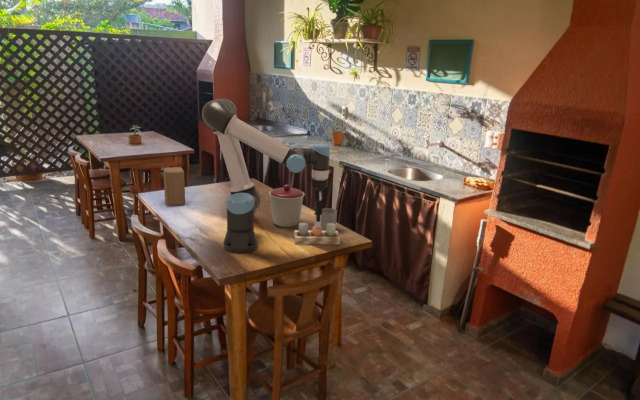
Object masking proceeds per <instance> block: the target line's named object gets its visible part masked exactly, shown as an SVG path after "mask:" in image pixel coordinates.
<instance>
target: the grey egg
mask: <svg viewBox="0 0 640 400" xmlns="http://www.w3.org/2000/svg"><path fill="white" fill-rule="evenodd" d="M298 230H299V235H301V236H306V235H308V230H309V223H308V222H298Z"/></svg>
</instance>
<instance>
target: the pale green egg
mask: <svg viewBox="0 0 640 400" xmlns="http://www.w3.org/2000/svg"><path fill="white" fill-rule="evenodd" d="M335 229H337V223H336V224H334V223H327V224H326V235H327V236H335Z"/></svg>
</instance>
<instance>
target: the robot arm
mask: <svg viewBox="0 0 640 400" xmlns="http://www.w3.org/2000/svg"><path fill="white" fill-rule="evenodd" d="M237 111H238V109H237V107H236V106H235V104H234V103H233V102H232V101H231V100H229V99H227V98H222V97H221V98H216V99H213V100H210V101H207V102H206V103H205V104H204V105H203V107H202V111H201V118H202V120H203V122H204V123H205V125H207V127H209V128H211V131H212V133H213V134H214V135H216V136H217V139H218V143H219V146H220V149H221V152H222V156H223V159H224V163H225V166H226V171H227V174H228V176H229V177H228V178H229V180H230V184H231V188H229V192H230V195H229V196H228V198H227V199H226V232H225V236H224V237H223V238H224V239H223V243H222V247H223V249H224V250H225V251H226V252H229V253H233V254H244V253H245V254H246V253H250V252H254V251H255V250H257V248H258V243H259V242H258V239H257V236H256V233H255V229H254V228H255V215H256V213H257V210H258V209H259V207H260V205H261V195H260V193H259V192H258V190H257V189H256V185H255V183H254V182H253V181H251V180H250V176H249V175H250V174H249V172H248V169H247V165H246V162H245V158H244V154H243V150H242V147H241V146H242V145H241V144H240V142H242V143H243V144H245V145H247V146H249V147H251V148H253V149H254V150H256V151H258V152H260V153H261V154H263V155H265V156H267V157H268V158H271V159H272V160H274V161H276V162H278V163H280V164H282V165H283V166H285V167H287V169H288V170H289V172H292V173H293V174H296V173H300V172H302V171H303V170H304V169H305V167H306V166H312V167H311V183H310V184H311V188H315V189H314V213H313V215H314V226H315V228H321V215H322V209H323V206H324V205H323V203H324V195H325V191H324V190H323V189H326V188H328V187H329V179H328V178H329V174H330V170H329V169H330V168H329V167H330V150H331V148H330V146H329V145H328V144H326V143H325V144H324V143H316V144H313V147H312V148H307V147H304V148H303V147H295V146H294V147H289V146H287V145H285V144H283V143H282V142H280V141H279V140H276V139H275V138H274V137H271V136H270V135H267V134H266V133H264V132H262V131H261V130H259V129H257V128H255V127H253V126H252V125H250V124H248V123H246V122H245V121H243V120H241V119H239V118H238V117H237V115H238V114H237V113H238V112H237Z"/></svg>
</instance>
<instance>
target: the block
mask: <svg viewBox="0 0 640 400" xmlns="http://www.w3.org/2000/svg"><path fill="white" fill-rule="evenodd" d="M185 181H186V180H185V171H184V169H183V168H182V167H180V166H177V167H165V168H163V185H164V187H163V188H164V202H165V204H166V206H167V207H173V206H184V205H186V189H185V188H186V187H185V184H186V183H185Z"/></svg>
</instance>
